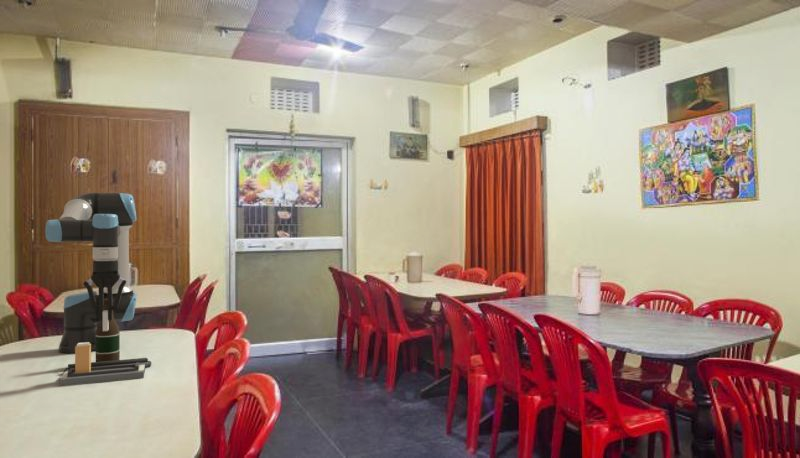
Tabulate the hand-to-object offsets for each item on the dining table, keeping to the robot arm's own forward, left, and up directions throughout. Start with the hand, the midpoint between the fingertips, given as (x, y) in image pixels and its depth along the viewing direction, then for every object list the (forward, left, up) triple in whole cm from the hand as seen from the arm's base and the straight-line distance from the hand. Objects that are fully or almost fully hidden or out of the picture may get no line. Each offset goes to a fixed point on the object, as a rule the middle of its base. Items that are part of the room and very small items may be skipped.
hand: (105, 330), depth 182 cm
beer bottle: (-20, -1, -16) cm, 25 cm away
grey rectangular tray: (0, 0, -16) cm, 16 cm away
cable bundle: (-10, 0, -16) cm, 18 cm away
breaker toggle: (0, -7, -13) cm, 15 cm away
